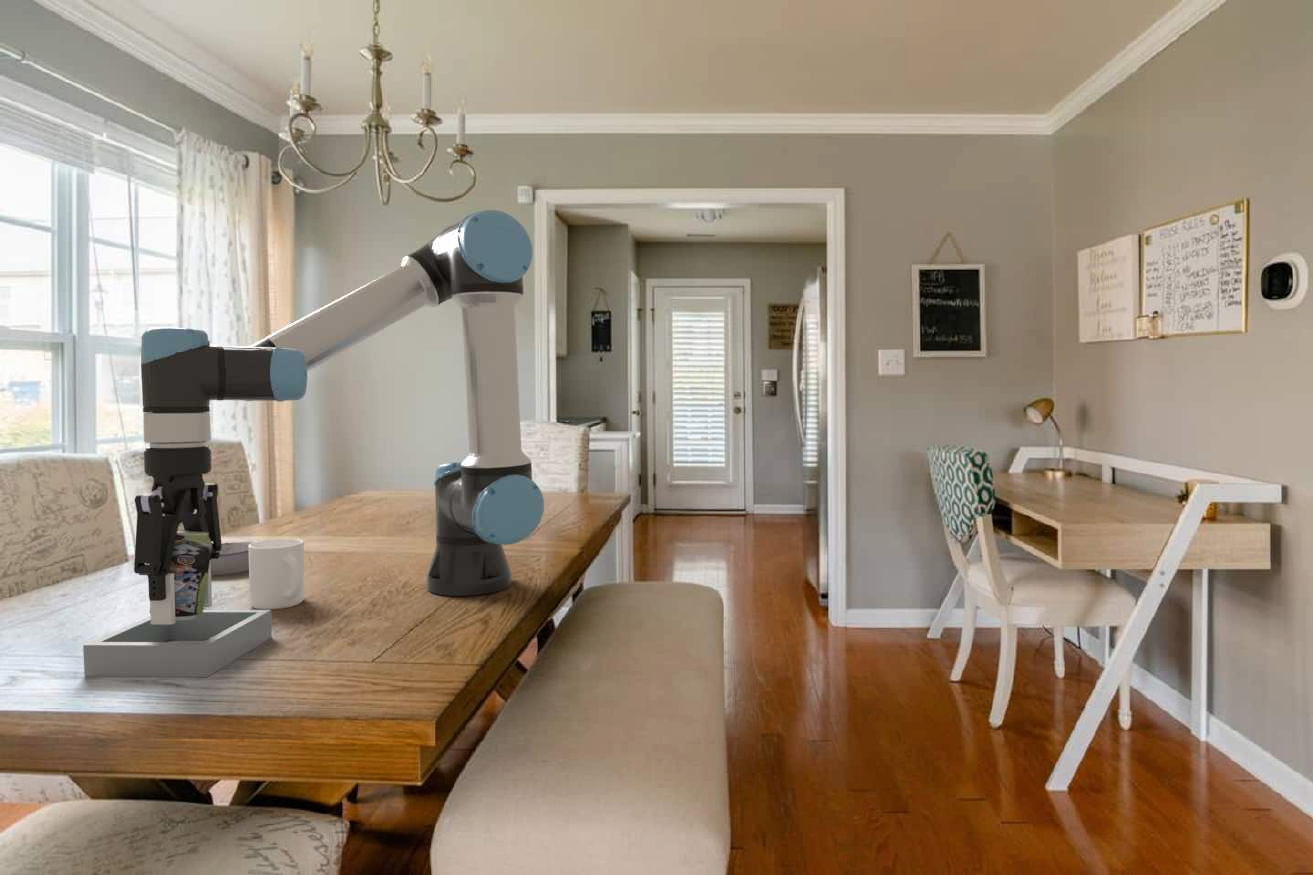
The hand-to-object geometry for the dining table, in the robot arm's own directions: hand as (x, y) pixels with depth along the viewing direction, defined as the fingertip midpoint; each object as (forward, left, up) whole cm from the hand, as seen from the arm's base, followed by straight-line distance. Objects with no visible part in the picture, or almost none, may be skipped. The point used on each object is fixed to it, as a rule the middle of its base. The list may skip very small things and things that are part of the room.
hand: (182, 614), depth 100 cm
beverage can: (0, 0, -1) cm, 1 cm away
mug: (-1, -24, -6) cm, 25 cm away
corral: (0, 0, -6) cm, 6 cm away
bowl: (+23, -49, -6) cm, 54 cm away
